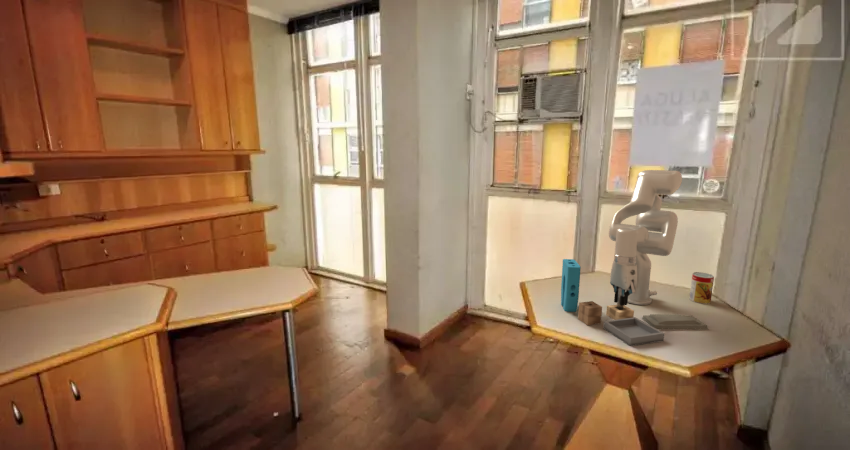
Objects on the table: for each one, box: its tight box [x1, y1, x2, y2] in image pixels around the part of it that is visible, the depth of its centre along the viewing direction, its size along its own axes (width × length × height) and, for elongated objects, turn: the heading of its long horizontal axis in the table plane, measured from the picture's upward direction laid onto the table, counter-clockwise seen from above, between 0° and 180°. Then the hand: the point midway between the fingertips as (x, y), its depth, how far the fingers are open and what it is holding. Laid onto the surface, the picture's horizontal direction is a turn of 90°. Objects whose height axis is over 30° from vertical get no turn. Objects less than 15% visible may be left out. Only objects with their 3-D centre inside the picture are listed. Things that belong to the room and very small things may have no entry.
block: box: [560, 258, 582, 313], centre depth 169 cm, size 12×5×20 cm, turn 172°
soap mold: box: [641, 313, 709, 331], centre depth 154 cm, size 10×20×4 cm, turn 89°
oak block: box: [605, 304, 635, 320], centre depth 160 cm, size 7×7×4 cm
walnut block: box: [577, 300, 603, 326], centre depth 157 cm, size 6×6×7 cm
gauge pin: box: [616, 287, 625, 310], centre depth 159 cm, size 2×2×12 cm
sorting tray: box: [602, 316, 666, 347], centre depth 146 cm, size 14×14×3 cm
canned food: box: [688, 271, 715, 305], centre depth 176 cm, size 8×8×12 cm
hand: (620, 303), depth 159 cm, fingers closed on gauge pin, 2 cm apart
